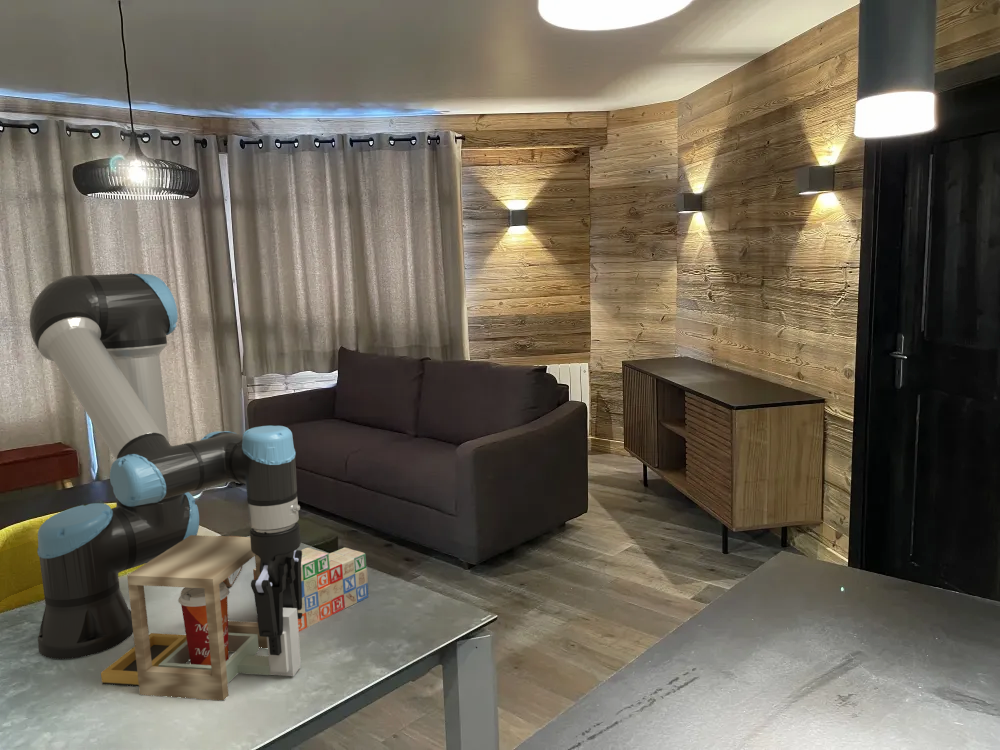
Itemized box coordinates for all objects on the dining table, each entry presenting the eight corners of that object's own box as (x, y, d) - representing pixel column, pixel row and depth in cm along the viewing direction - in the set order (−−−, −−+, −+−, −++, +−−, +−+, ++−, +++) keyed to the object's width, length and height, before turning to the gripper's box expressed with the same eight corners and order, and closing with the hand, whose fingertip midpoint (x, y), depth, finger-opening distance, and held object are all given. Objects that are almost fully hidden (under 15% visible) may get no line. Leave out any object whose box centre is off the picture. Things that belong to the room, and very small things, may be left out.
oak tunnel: (139, 694, 115) (127, 575, 112) (200, 640, 132) (190, 535, 129) (223, 700, 113) (212, 579, 110) (274, 644, 129) (266, 537, 127)
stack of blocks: (348, 590, 151) (344, 532, 149) (369, 597, 147) (365, 538, 146) (257, 632, 134) (252, 567, 133) (278, 642, 131) (273, 576, 129)
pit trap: (102, 684, 118) (100, 672, 118) (152, 643, 131) (151, 633, 131) (142, 687, 117) (140, 675, 117) (188, 645, 130) (187, 635, 130)
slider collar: (160, 682, 118) (154, 622, 116) (198, 647, 129) (193, 592, 127) (281, 690, 114) (277, 629, 113) (311, 653, 125) (307, 597, 124)
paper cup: (205, 686, 117) (197, 602, 115) (175, 673, 121) (167, 592, 119) (245, 663, 124) (239, 583, 122) (216, 651, 128) (209, 574, 126)
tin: (232, 566, 165) (229, 529, 164) (247, 565, 166) (244, 528, 164) (214, 595, 150) (211, 555, 149) (230, 594, 151) (227, 554, 149)
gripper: (273, 544, 108) (284, 694, 112) (317, 509, 124) (326, 640, 127) (225, 543, 109) (238, 691, 113) (275, 507, 125) (285, 638, 128)
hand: (285, 664), depth 120 cm, fingers closed on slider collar, 3 cm apart
